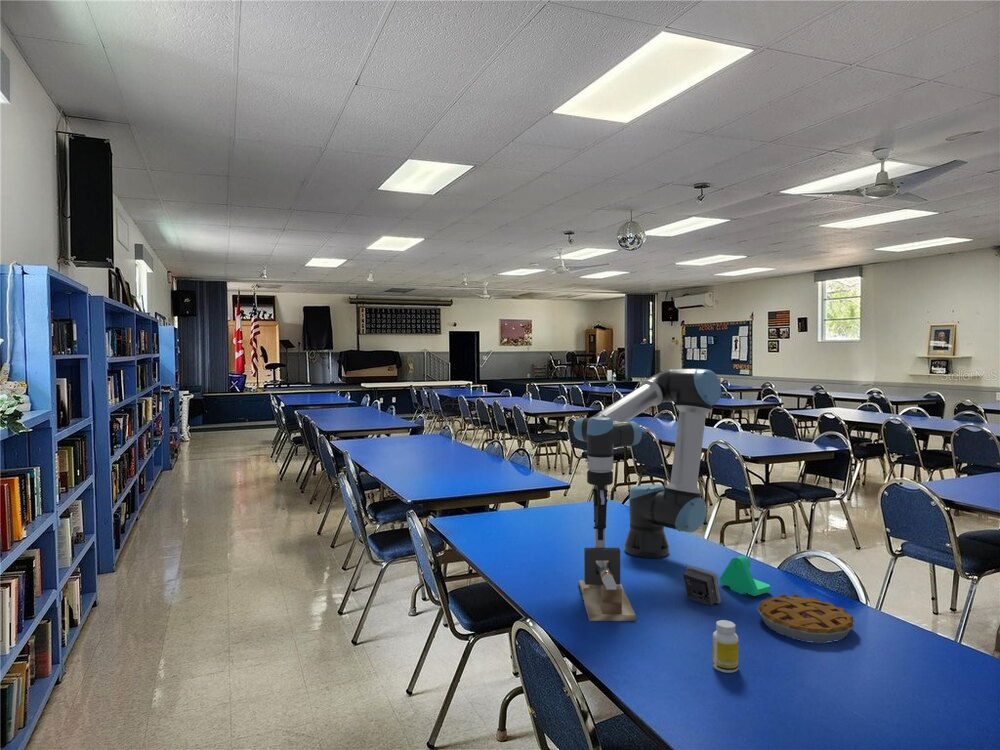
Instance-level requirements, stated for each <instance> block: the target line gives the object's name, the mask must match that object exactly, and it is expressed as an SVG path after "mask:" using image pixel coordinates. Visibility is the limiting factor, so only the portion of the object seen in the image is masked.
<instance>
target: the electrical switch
mask: <svg viewBox="0 0 1000 750" xmlns="http://www.w3.org/2000/svg"><path fill="white" fill-rule="evenodd" d="M685 567H686V568H685V569H686V571H685V572H684V573H682V575H683V582H684V587H685V593H686V597H687V598H688V599H691V600H693V601H696V602H698V601H699V603H701V602H702V603H701V604H704V603H706V604H708V605H707V606H709V605H711V606H710V607H712V606H713V605H715V604H717V603H718V605H719V604H720V603H721V602H722V598H721V593H720V587H719V582H718V576H717V574H716V573H715V572H714V571H713V572H712V571H709V570H707V569H703V568H700V567H697V566H693V565H689V564H688V565H687V566H685ZM706 604H705V605H706Z"/></svg>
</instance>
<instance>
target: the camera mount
mask: <svg viewBox="0 0 1000 750" xmlns="http://www.w3.org/2000/svg"><path fill="white" fill-rule="evenodd" d="M751 567H752V563H751V561H750V558H749V557H747V556H745V555H739V556H736V557H733V558H731V559H730V561H729V563H728V565H727V566H726V568H725V569H724V571H723V572H722V574H721V576H720V577H719V582H720V584H722V585H724V586H727V587H729V590H730V589H731V590H730V591H732V590H734V591H733V592H735V591H736V592H735V593H737V592H739V593H738V594H740V593H742V594H745V593H748V594H747V595H751V596H753V597H755V596H758V595H762V594H766V593H769V592H771V585H770V584H769V583H766V582H763V581H761V580H758V579H755V578H753V576H752V573H751V571H750V569H751ZM742 594H741V595H742ZM745 595H746V594H745Z"/></svg>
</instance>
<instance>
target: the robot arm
mask: <svg viewBox="0 0 1000 750" xmlns="http://www.w3.org/2000/svg"><path fill="white" fill-rule="evenodd" d="M721 396H722V386H721V381H720V379H719V378H718V376H717V374H716V373H715V372H714V371H712V370H711V369H704V368H669V369H666V370H663V371H661V372H658V373H656V374H654V375H652V376H650V377H648V378H647V379H645V380H643V381H642V382H641V383H640V384H639V387H638V388H636V389H634V390H633V391H631V392H630V393H628V394H626V395H625V396H623V397H622V398H619V400H616V401H615V402H613V403H612V404H611V405H608V406H606V408H604V409H602V410H600V411H599V412H598V413H596V414H594V415H593V416H590V417H589V418H588V417H586V416H585V417H580V418H579V417H578V418H577V419H576V421H575V422H574V424H573V426H572V427H573V428H572V432H573V435H574V438H576V439H577V440H578V441H582V442H585V443H587V444H586V446H587V447H586V450H587V452H586V455H587V458H585V460H584V462H586V463H587V465H586V467H587V468H586V469H588V470H587V471H586V482H587V484H588V485H592V486H594V488H592V490H591V491H592V495H593V497H592V498H593V501H592V502H593V523H594V526H593V530H594V548H606V547H605V546H606V543H605V542H606V540H605V539H606V528H607V509H608V508H607V507H608V506H607V505H608V490H607V488H606V486H610V485H612V484H613V483H614V472H613V469H614V449H618V448H624V447H625V448H626V447H628V448H630V447H634V446H635V445H638V444H639V443H640V442H641V440H642V438H643V433H642V432H643V431H642V427H641V426H640V425H639V424H638V423H637V422H635V421H633V420H632V419H634V418H635V417H636V416H638V415H639V414H641V413H643V412H644V411H646V410H648V409H649V408H651V407H652V406H653V407H657V406H659V405H661V404H662V403H669V402H672V403H675V408H676V409H677V411H679V414H678V421H677V429H676V435H675V437H676V438H675V442H674V443H675V444H674V445H675V446H674V452H673V460H672V466H671V467H672V469H671V475H670V482H669V483H668V484H666V485H665V486H664V485H662V484H643V485H636V486H633V487H631V488H630V490H629V499H628V500H629V529H628V533H627V535H626V538H625V542H624V551H625V553H627V554H628V555H631V556H635V557H638V558H643V559H645V558H646V559H648V558H649V559H654V558H656V559H657V558H663V557H666V556H669V554H670V545H669V542H668V538H667V536H666V532H665V528H666V529H667V528H668V529H672V530H675V531H678V532H683V533H684V532H685V533H689V534H690V533H691V534H692V533H694V532H696V531H697V530H699V529H700V528H701V527H702V526H703V525H704V522H705V520H706V517H707V512H708V511H707V509H708V508H707V506H706V505H707V504H706V502H705V500H704V499H702V498H701V496H702V491H701V490H700V489H699V488H698V482H699V472H700V465H701V457H702V449H703V441H704V433H705V426H706V424H705V423H706V416H707V415H708V414H709V413H711V412H712V407H713V406H715V405H717V404H718V402H719V400H720V399H721Z"/></svg>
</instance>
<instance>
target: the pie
mask: <svg viewBox="0 0 1000 750" xmlns="http://www.w3.org/2000/svg"><path fill="white" fill-rule="evenodd" d="M756 610H757V612H758V613H759V615H760V616H761V619H762V621H763V622H764V624H765V626H766V627H767V626H768V627H767V628H769V627H770V628H769V629H771V628H772V629H773V630H772V629H771V630H772V631H774V630H775V631H776V632H775V631H774V632H775V633H777V632H779V633H782V634H784V635H786V636H789V637H791V638H795V639H800V640H804V641H813V642H827V641H834V640H839V639H841V638H843V637H845V636H846V637H847V636H848V634H849V633H850V631H851V630H853V629H854V626H855V624H856V621H855V620H854V617H853V616H852V614H850V613H847V611H846V609H845V608H843V607H837V606H835V605H834V604H833V603H830V602H829V601H828V602H827V601H821V600H818V598H816V597H802V595H798V594H793V595H792V596H789V595H787V594H779V595H778V597H775V596H768V597H766V600H761V601H760V604H759V605H758V606H757V608H756ZM779 633H778V634H779ZM784 635H783V636H784ZM786 636H785V637H786ZM789 637H788V638H789ZM791 638H790V639H791ZM841 640H842V639H841ZM839 641H840V640H839Z"/></svg>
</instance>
